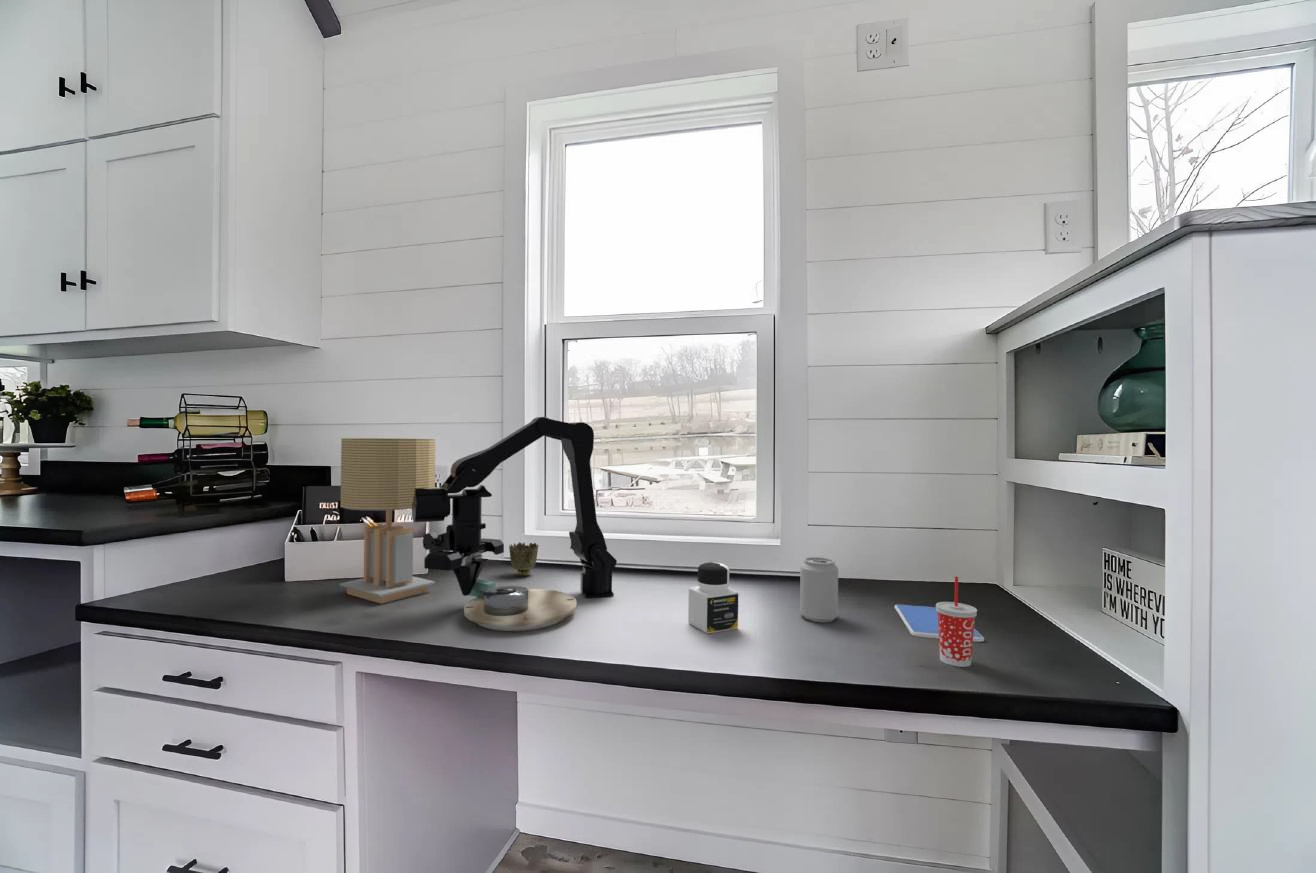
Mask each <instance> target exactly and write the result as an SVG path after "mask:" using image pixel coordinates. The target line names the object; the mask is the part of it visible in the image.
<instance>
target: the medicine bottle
mask: <svg viewBox="0 0 1316 873" xmlns="http://www.w3.org/2000/svg"><path fill="white" fill-rule="evenodd" d="M687 606H688V609H687V610H688V614H687V615H688V616H687V617H688V619H687V622H688V624H690V625H691V626H692V627H695V628H696V629H698V630H700V631H701V632H703V633H705V634H707V635H708V634H714V633H715V634H716V633H719V632H720V633H721V632H726V631H732V630H733V631H734V630H737V629H738V628H739V592H738V591H737V590H734V589H732V588H730V568H729V566H727V565H726V564H724V563H721V562H712V561H711V562H710V561H709V562H704V563H702V564H699V566H698V567H697V586H696V585H695V586H690V587H689V588H688V605H687Z"/></svg>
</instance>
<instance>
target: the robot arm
mask: <svg viewBox="0 0 1316 873" xmlns="http://www.w3.org/2000/svg"><path fill="white" fill-rule="evenodd" d="M543 437H547V438H551V439H554V440H557V441H560V442H561V446H562V449H563V452H564V454H565V456H566V458H567V460H568V462H569V468H570V477H571V483H572V485H571V486H572V495H573V502H574V511H575V517H576V519H575V520H576V524H575V529H574V531H569V532H568V536H569V538H570V539H569V540H570V547H569V549H571V550H572V551H573V553H574V555H575V556H576V557H578V558H579V561H580V563H581V565H583V566H582V572H581V573H580V588H579V589H580V592H581V593H582V594H583V595H584V596H583V597H584V598H587V599H588V598H599V597H600V598H602V597H612V596H614V595H615V594H614V592H613V571H614V570H615V569H616V566H617V561H618V560H617V559H616V558H615V557H614V556H613V555H612V554H611V553H610V552H609V551H608V547H607V543H606V540H605V536H604V534H603V532H602V530H601V527H600V525H599V524H598V520H597V512H596V504H595V494H594V485H593V479H592V478H593V477H592V467H591V459H592V455H593V451H594V447H595V446H594V442H595V441H594V440H595V433H594V429H593V427H592V426H591V425H589V423H586V422H581V421H580V422H579V421H578V422H577V421H576V422H566V421H560V420H556V419H553V418H549V417H547V416H537V417H535V418H533V419H532V420H531V421H529V422H528V423H527V424H525V425H522V427H520V428H519V429H517V430H515V431H514V432H512V433H511V434H509V435H507V436H506V437H504V438H503V439H500V440H499V441H497V442H496V443H494V444H493V445H491V446H490V447H487V448H485V449H483V450H479V451H477V452H474V453H472V454H468V455H466V456H463V457H462V458H459V459H457V460H455V461H454V462H453V463H452V465H451V468H450V474H449V476H448V477H447V478H446V480H445V481H444V482H443V484H442V485H441V486H440V487H437V488H436V487H435V488H428V489H426V488H415V489H414V498H413V503H412V509H411V516H412V517H411V518H412V522H413V523H415V524H416V523H432V522H444V521H445V520H446V519H445V518H448V516H450V514H451V524H448V525H447V526H446V529H445V530H446V531H445V532H444V533H441V534H440V533H439V534H437V532H435V531H431V532H427V533H425V534H423V538H422V547H423V548H424V550H426V551H428V550H429V553H428V554H427V555H426V556H425V557H424V560H423V562H424V565H423V566H424V568H423V569H425V570H426V569H427V570H428V569H429V570H434V571H435V570H437V571H446V572H447V571H453V573H454V576H455V577H456V580H457V582H458V584H459V585H458V586H459V588H460V591H461V594H462V595H463V596H465V597H466V596H467V597H468V596H470V593H471V591H472V589H473V586H474V584H475V582H476V580H477V579H479V576H480V574H481V573H482V571H483V568H484V567H485V565H486V563H489V558H484V557H483V553H486V552H490V553H493V554H494V555H496V556H497V555H500V554H503V553H505V549H504V548H505V544H504V543H503V541H502V540H501V539H496V538H484V537H483V538H482V530H483V529H486V527H487V525H486V523H485V522H482V500H483V499H482V498H491V497H492V496H493V494H492V493H491V492H490V491H489V490H488V489H487V488H486V486H485V485H483V484H481V483H483V481H485V479H487V478H488V477H489V476H490V475H491V474H492V473H493V472H494V471H495V469H496V468H497V467H498V466H499V465H500V464H502V463H503V462H504V461H506V460H508V459H509V458H511V457H513V456H514V455H516V454H517V453H519V452H520V451H522V450H523V449H525V448H527V447H528V446H530V445H531V444H533V443H534V442H536V441H538V440H539V439H541V438H543ZM477 486H479V487H477ZM474 487H477V488H474ZM466 488H467V489H466ZM460 492H461V493H460ZM451 499H452V503H451ZM451 504H452V506H451ZM451 508H452V509H451ZM451 510H452V511H451Z"/></svg>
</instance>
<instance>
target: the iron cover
mask: <svg viewBox="0 0 1316 873" xmlns="http://www.w3.org/2000/svg"><path fill="white" fill-rule="evenodd" d="M528 589H529V588H527V587H525V586H519V585H503V586H502V585H501V586H495V587H494V588H490V589H488V590H486V591H485V592H484V613H486V614H488V615H493V616H510V615H516V614H520V613H523V612H525V611H527V610H528Z"/></svg>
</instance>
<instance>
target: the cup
mask: <svg viewBox="0 0 1316 873" xmlns="http://www.w3.org/2000/svg"><path fill="white" fill-rule="evenodd" d="M508 548H509V557H510V558H509V559H510V562H511V563H510V564H511V566H512V568H513V569H514V570H516V572H515V573H516V576H518V577H528V576H530V575H531V574H532V573H531V572H532V571H531V569H533V568H534V567H535V566H536V563H537V560H538V558H537V557H538V552H539V544H538V543H536V542H534V543H532V542H530V543H529V545H526V543H525V542H523V543H522V542H520V541H519V542H518V543H517V544H516V543H513V544H509V545H508Z"/></svg>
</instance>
